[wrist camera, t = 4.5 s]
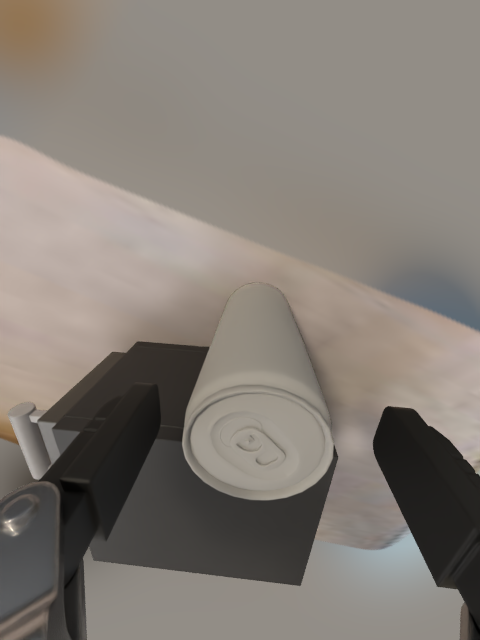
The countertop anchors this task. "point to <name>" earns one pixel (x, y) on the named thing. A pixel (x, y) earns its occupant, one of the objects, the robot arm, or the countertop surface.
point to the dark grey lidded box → (193, 489)
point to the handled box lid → (51, 420)
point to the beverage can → (258, 404)
